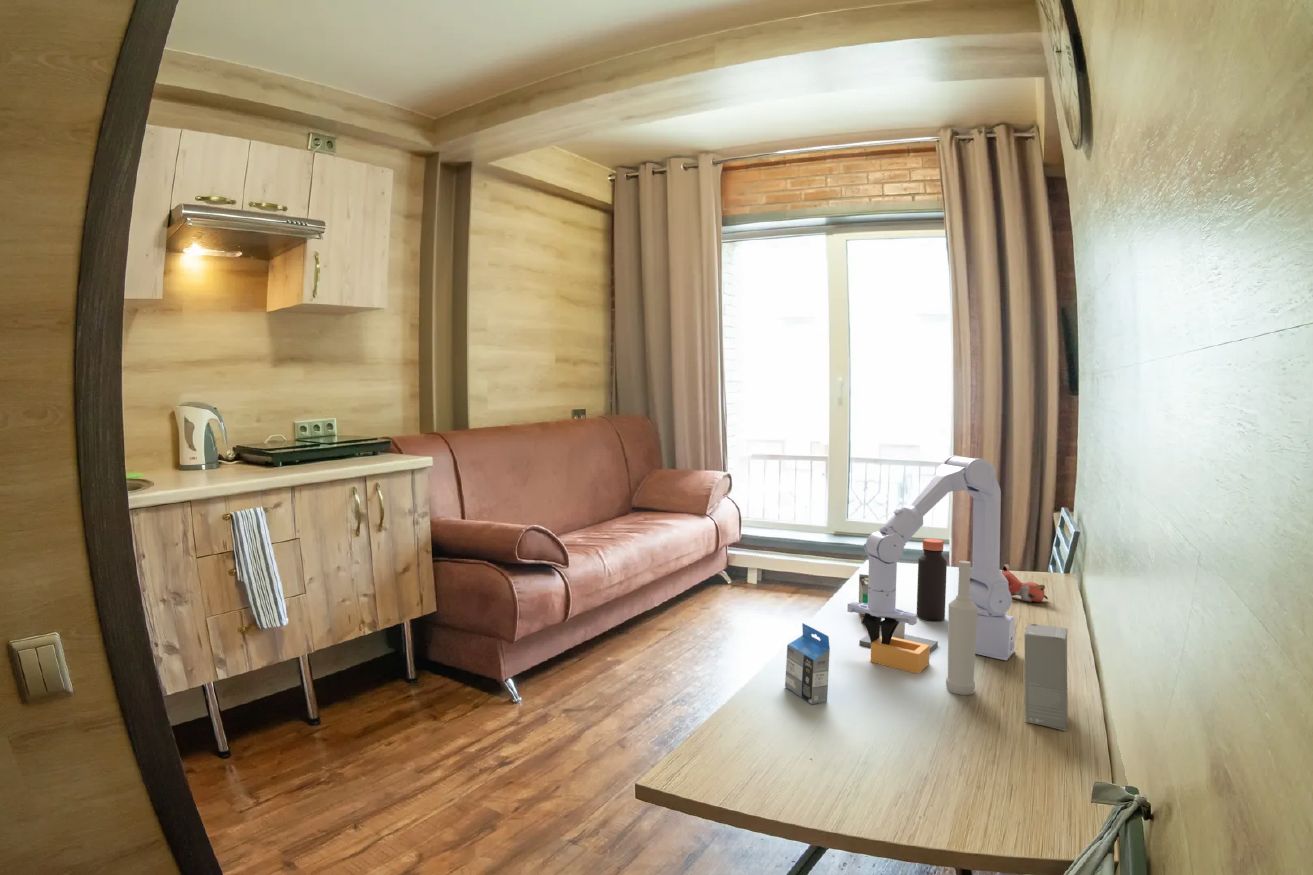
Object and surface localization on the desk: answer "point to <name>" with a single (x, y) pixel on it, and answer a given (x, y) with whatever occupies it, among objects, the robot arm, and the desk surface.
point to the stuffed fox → (1023, 587)
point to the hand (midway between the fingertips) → (880, 650)
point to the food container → (863, 592)
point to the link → (901, 654)
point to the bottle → (962, 636)
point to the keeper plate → (907, 637)
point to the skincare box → (1046, 676)
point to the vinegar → (931, 581)
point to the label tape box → (808, 666)
